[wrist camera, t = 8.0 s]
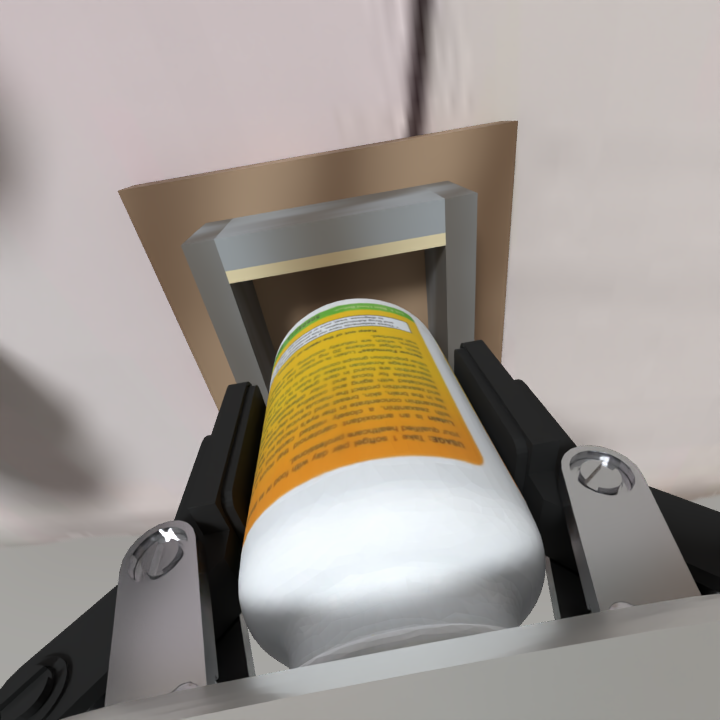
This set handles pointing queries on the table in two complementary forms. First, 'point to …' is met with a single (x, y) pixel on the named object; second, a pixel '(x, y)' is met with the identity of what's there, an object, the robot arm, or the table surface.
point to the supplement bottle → (378, 498)
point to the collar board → (333, 244)
